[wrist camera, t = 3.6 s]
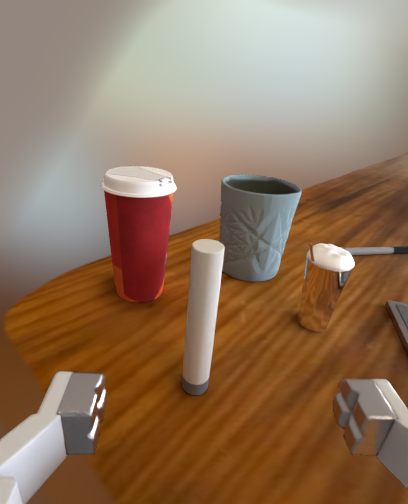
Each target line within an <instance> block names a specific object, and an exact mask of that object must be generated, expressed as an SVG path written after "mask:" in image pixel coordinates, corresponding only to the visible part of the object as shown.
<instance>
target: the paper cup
mask: <svg viewBox="0 0 408 504" xmlns="http://www.w3.org/2000/svg"><path fill="white" fill-rule="evenodd" d="M101 188H102V189H103V190H104V192H105V201H106V209H107V219H108V228H109V237H110V246H111V255H112V264H113V272H114V280H115V287H116V292H117V294H118V296H119V297H120V298H122V299H124V300H126V301H129V302H137V303H140V302H148V301H151V300H154V299H156V298H158V297H159V296H160V295H161V294H162V291H163V286H164V278H165V269H166V260H167V250H168V240H169V229H170V219H171V208H172V198H173V192H174V191H175V190H176V185H175V184H174V183H173V176H172V174H171V173H170V172H168V171H165V170H162V169H158V168H152V167H143V166H126V167H118V168H113V169H110V170H108V171H107V172H106V175H105V177H104V181H102V183H101Z"/></svg>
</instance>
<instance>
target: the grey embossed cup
mask: <svg viewBox="0 0 408 504" xmlns="http://www.w3.org/2000/svg"><path fill="white" fill-rule="evenodd" d="M300 196H301V188H300V187H299V186H297V185H295V184H293V183H291V182H288V181H285V180H281V179H277V178H273V177H267V176H259V175H243V174H241V175H230V176H227V177H224V178H223V179H222V180H221V202H222V204H221V213H220V216H221V219H220V222H221V225H220V234H219V235H220V240H219V242H220V243H222V244H223V245H224V247H225V250H224V259H223V267H222V271H223V272H224V273H226V274H227V275H229V276H231V277H233V278H236V279H239V280H244V281H252V282H258V281H265V280H269V279H271V278H273V277H274V276H275V275H276V273H277V272H278V269H279V265H280V262H281V255H282V254H283V251H284V248H285V244H286V240H287V238H288V233H289V231H290V227H291V223H292V219H293V216H294V214H295V210H296V208H297V205H298V202H299V199H300Z"/></svg>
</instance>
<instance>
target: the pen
mask: <svg viewBox="0 0 408 504" xmlns="http://www.w3.org/2000/svg"><path fill="white" fill-rule="evenodd" d="M343 249H344V250H346V251H348V252H349V253H350V254H351V255H369V254H398V253H408V246H400V247H366V248H343Z"/></svg>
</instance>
